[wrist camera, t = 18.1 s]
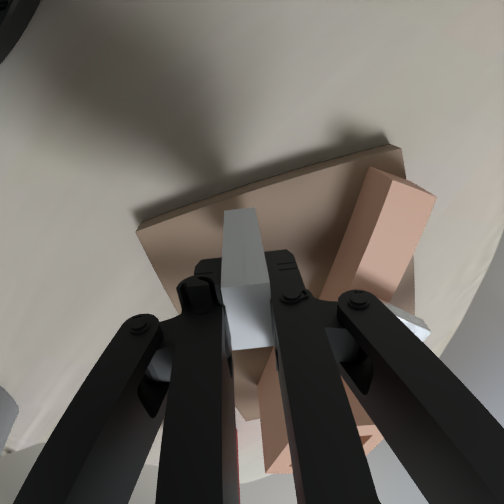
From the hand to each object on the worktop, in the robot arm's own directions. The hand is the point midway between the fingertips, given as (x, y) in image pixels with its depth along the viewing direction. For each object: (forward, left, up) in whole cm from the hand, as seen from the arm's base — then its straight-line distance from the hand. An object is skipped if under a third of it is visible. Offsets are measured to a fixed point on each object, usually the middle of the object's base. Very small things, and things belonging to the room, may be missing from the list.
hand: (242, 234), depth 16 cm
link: (+8, +4, -2) cm, 9 cm away
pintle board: (+9, +2, -3) cm, 9 cm away
